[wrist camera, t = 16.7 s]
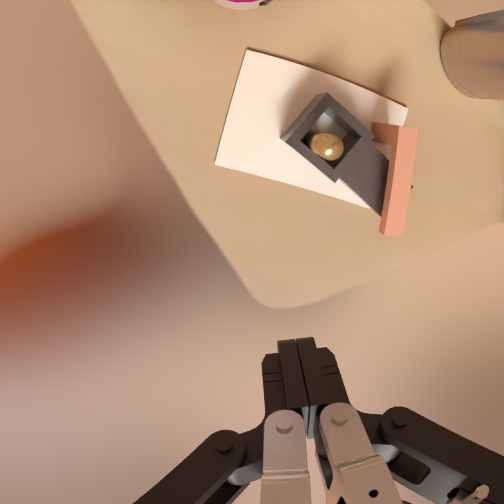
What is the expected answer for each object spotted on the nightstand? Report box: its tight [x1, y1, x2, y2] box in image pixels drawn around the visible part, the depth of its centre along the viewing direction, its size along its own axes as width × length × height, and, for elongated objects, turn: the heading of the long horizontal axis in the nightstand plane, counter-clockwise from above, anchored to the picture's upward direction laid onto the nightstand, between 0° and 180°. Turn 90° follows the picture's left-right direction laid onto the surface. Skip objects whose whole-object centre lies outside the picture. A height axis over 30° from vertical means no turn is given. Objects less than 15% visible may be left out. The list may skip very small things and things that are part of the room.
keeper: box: [371, 122, 418, 236], centre depth 28 cm, size 10×2×6 cm, turn 178°
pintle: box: [301, 129, 344, 160], centre depth 26 cm, size 2×2×8 cm
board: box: [215, 50, 408, 209], centre depth 29 cm, size 12×18×1 cm
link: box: [280, 93, 413, 217], centre depth 28 cm, size 12×6×4 cm, turn 52°
